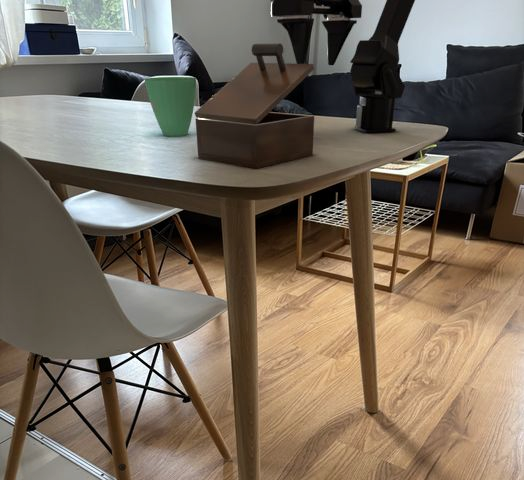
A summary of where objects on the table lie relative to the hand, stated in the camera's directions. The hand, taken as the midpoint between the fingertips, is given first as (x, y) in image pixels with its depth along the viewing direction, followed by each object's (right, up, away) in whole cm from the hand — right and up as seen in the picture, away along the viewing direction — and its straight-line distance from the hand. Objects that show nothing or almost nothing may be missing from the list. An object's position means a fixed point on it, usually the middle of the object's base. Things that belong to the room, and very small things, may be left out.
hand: (316, 66), depth 91 cm
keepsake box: (-11, -20, -9) cm, 24 cm away
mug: (-28, -6, +14) cm, 32 cm away
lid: (-11, -12, -14) cm, 22 cm away
